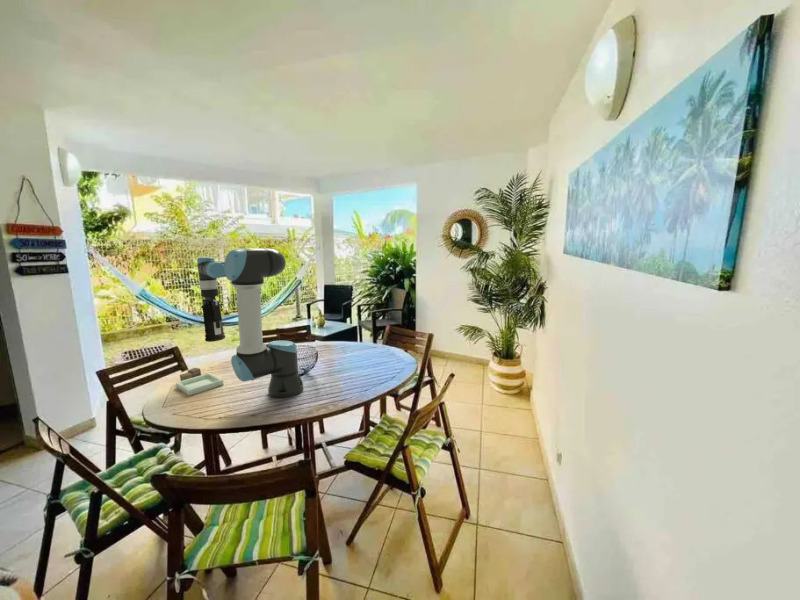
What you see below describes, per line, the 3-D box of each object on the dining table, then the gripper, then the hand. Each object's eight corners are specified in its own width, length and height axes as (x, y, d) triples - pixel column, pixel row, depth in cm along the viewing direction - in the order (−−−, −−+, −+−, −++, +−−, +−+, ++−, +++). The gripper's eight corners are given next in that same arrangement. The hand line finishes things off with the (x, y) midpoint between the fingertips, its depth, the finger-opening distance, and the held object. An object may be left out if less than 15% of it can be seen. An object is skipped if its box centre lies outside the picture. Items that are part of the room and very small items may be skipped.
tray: (223, 384, 161) (223, 379, 160) (188, 396, 149) (188, 390, 149) (210, 377, 170) (209, 372, 170) (176, 387, 159) (176, 382, 158)
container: (228, 336, 174) (224, 302, 171) (218, 341, 166) (213, 306, 162) (212, 336, 175) (208, 303, 172) (201, 341, 166) (196, 306, 163)
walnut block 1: (193, 381, 165) (191, 374, 165) (183, 384, 162) (182, 376, 162) (189, 379, 168) (188, 372, 167) (180, 382, 165) (179, 374, 164)
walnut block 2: (201, 376, 172) (200, 368, 172) (193, 379, 169) (192, 371, 168) (195, 374, 174) (195, 367, 173) (188, 377, 170) (187, 370, 170)
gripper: (226, 289, 162) (231, 334, 166) (208, 286, 175) (213, 328, 179) (209, 290, 157) (215, 337, 160) (192, 288, 170) (198, 331, 173)
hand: (214, 332), depth 170 cm, fingers closed on container, 8 cm apart
